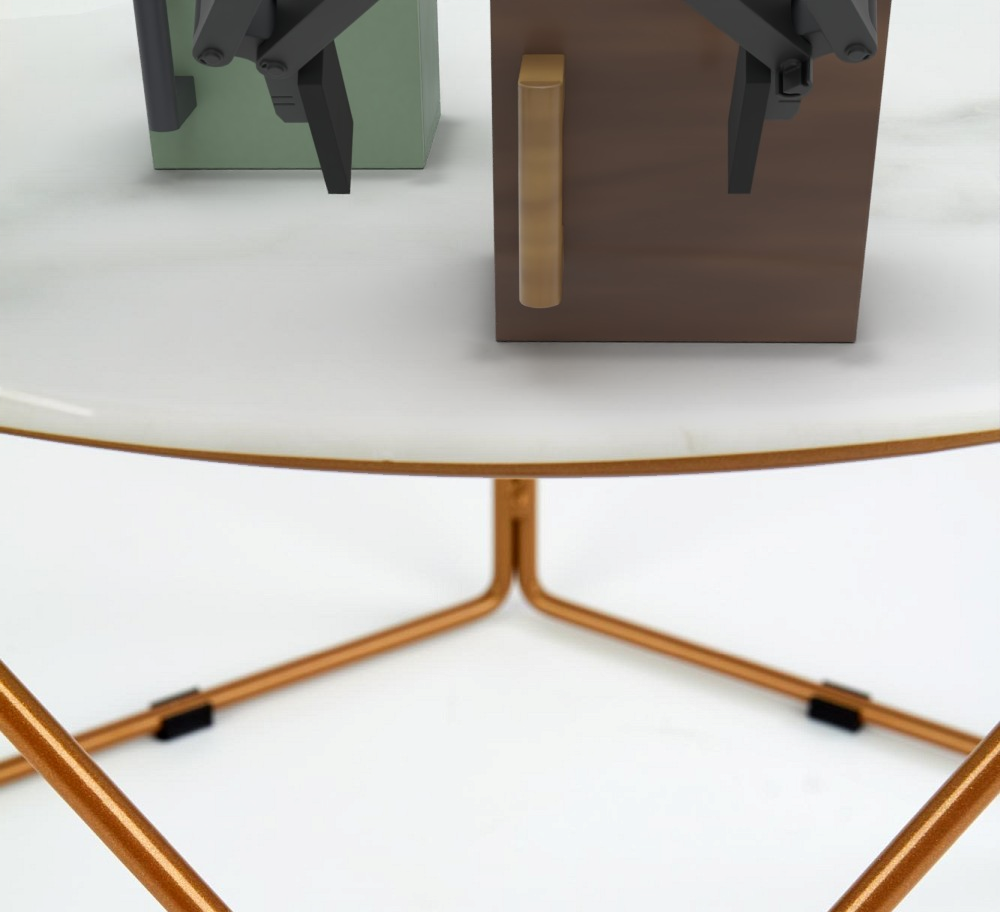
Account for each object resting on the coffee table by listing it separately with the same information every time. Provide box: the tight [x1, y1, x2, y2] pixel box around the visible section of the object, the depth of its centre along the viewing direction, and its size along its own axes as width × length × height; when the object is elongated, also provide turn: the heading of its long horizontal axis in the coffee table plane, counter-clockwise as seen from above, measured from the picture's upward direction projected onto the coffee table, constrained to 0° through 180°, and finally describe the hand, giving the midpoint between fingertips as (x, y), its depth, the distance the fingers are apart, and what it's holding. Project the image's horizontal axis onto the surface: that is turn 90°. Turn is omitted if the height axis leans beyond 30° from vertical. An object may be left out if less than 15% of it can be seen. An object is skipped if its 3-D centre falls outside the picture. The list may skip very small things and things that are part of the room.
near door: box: [489, 0, 893, 343], centre depth 65 cm, size 6×15×14 cm, turn 87°
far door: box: [132, 0, 426, 170], centre depth 87 cm, size 6×15×14 cm, turn 87°
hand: (538, 158), depth 59 cm, fingers open, 13 cm apart
